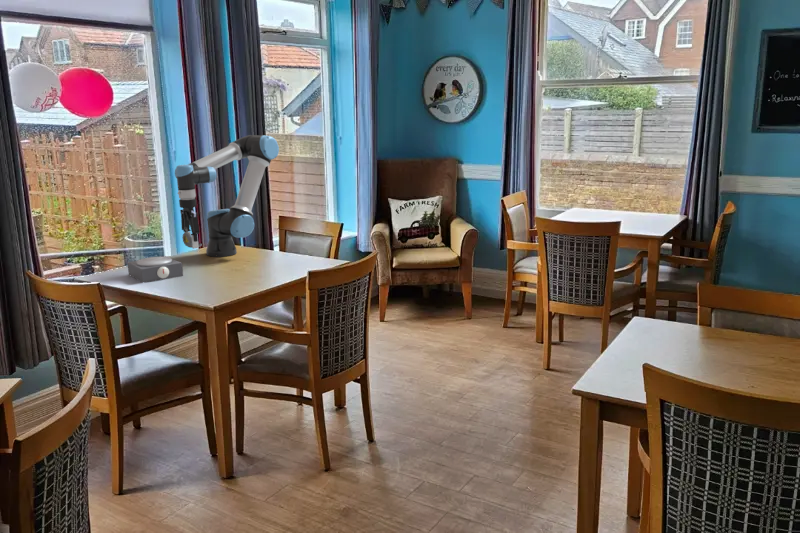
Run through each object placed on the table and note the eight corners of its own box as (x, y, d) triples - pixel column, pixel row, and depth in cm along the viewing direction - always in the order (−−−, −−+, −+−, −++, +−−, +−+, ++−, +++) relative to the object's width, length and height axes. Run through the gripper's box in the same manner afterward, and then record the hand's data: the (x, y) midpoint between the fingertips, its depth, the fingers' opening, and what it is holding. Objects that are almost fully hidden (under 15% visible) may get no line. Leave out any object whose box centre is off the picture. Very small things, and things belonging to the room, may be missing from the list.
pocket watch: (204, 245, 323) (202, 224, 320) (197, 249, 315) (195, 228, 312) (187, 244, 324) (185, 224, 321) (180, 249, 316) (178, 228, 313)
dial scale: (128, 275, 308) (127, 260, 306) (167, 268, 319) (166, 254, 317) (143, 283, 294) (142, 267, 292) (183, 276, 305) (182, 261, 303)
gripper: (170, 197, 318) (175, 244, 324) (188, 201, 303) (193, 251, 309) (186, 195, 323) (190, 242, 329) (204, 199, 308) (208, 248, 314)
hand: (192, 246), depth 319 cm, fingers closed on pocket watch, 7 cm apart
